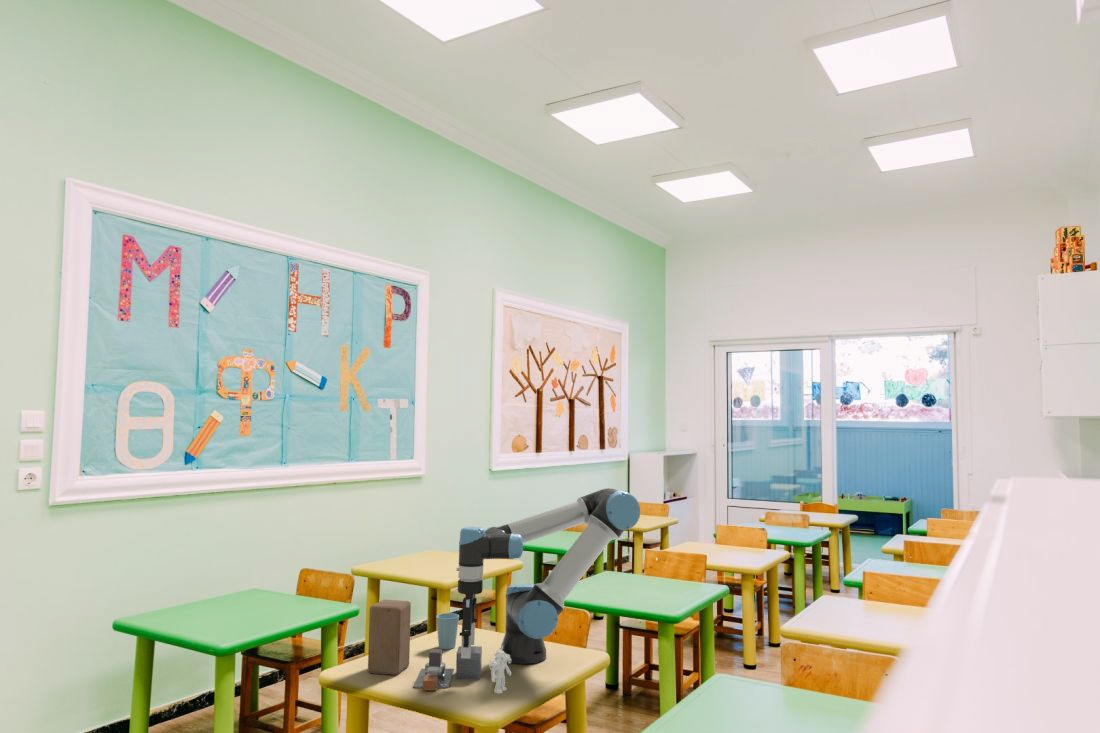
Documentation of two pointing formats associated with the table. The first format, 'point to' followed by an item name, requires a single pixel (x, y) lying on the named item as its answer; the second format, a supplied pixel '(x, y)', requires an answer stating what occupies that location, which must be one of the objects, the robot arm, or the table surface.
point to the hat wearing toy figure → (499, 669)
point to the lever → (434, 673)
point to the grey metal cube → (469, 664)
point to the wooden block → (389, 637)
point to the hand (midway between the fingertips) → (467, 651)
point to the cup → (447, 630)
